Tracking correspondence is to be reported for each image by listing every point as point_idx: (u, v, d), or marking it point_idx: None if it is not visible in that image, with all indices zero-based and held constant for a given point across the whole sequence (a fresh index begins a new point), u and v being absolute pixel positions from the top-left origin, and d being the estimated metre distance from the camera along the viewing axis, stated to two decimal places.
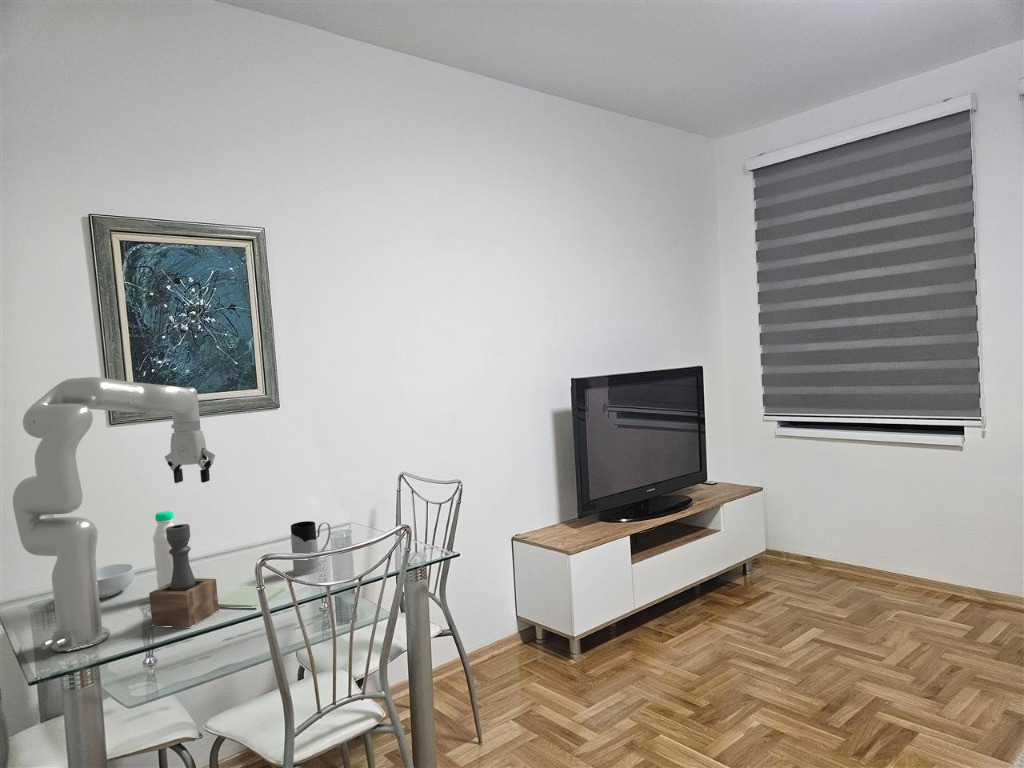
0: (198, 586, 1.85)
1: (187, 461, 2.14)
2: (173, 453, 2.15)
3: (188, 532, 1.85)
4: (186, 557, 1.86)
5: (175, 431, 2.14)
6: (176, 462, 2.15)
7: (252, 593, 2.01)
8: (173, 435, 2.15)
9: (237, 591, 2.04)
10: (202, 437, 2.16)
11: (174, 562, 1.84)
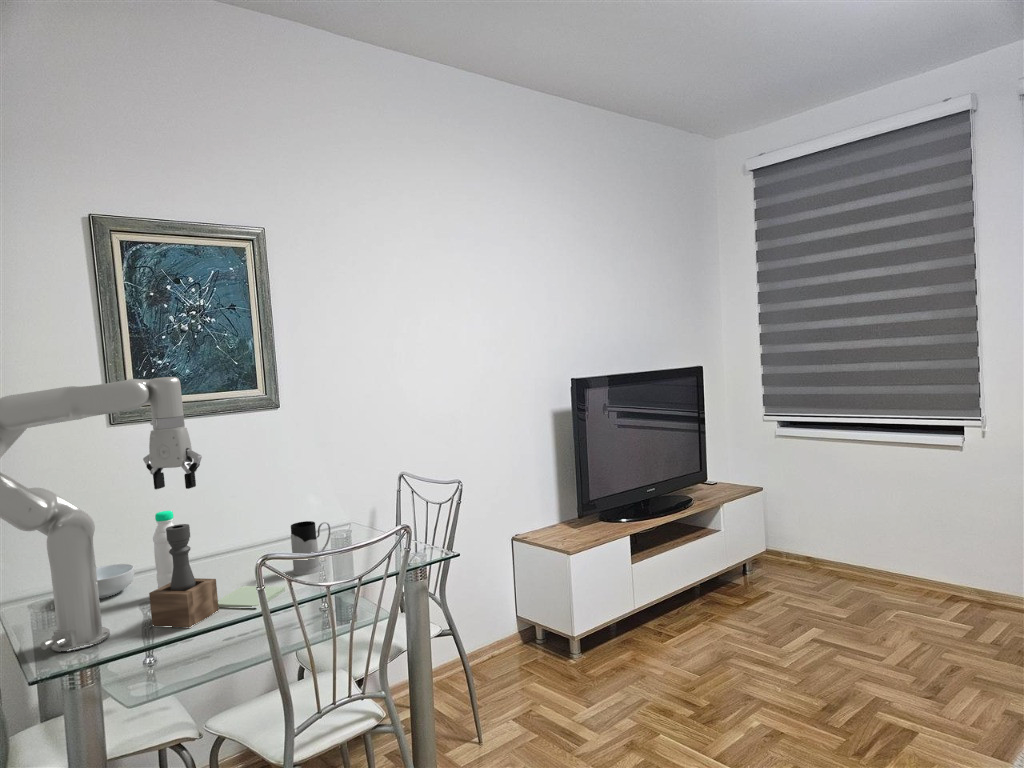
0: (198, 586, 1.85)
1: (169, 464, 1.82)
2: (152, 454, 1.83)
3: (188, 532, 1.85)
4: (186, 557, 1.86)
5: (154, 428, 1.81)
6: (156, 465, 1.83)
7: (252, 593, 2.01)
8: (152, 433, 1.82)
9: (237, 591, 2.04)
10: (186, 435, 1.84)
11: (174, 562, 1.84)
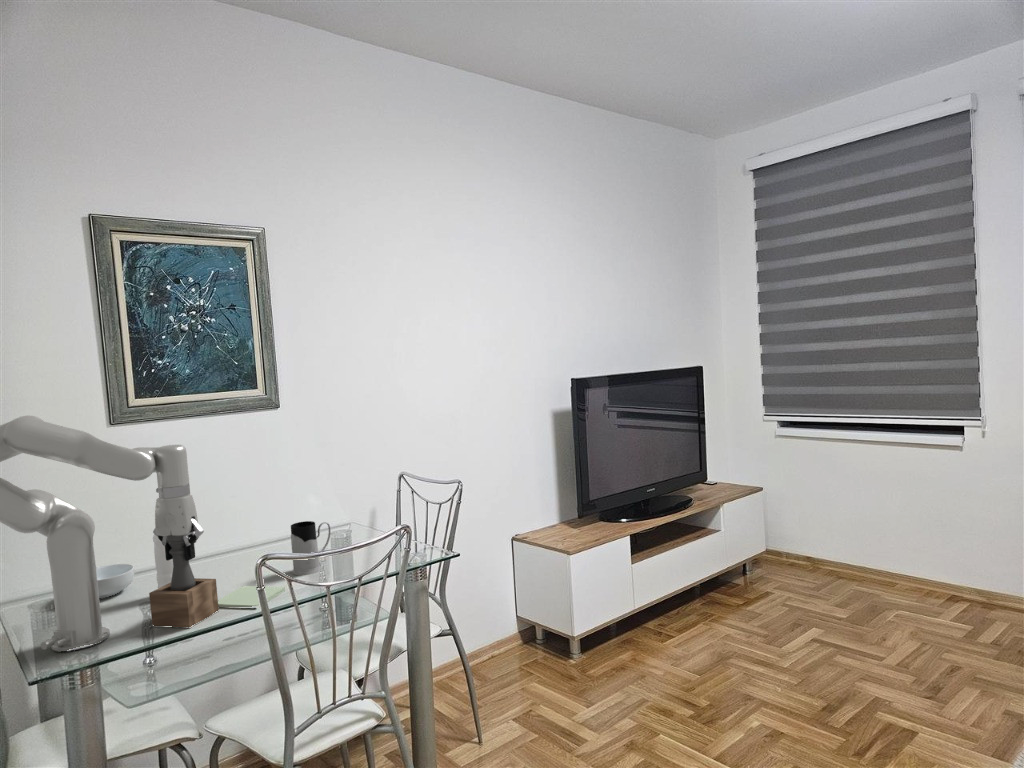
0: (198, 586, 1.85)
1: (174, 532, 1.83)
2: (158, 522, 1.84)
3: None
4: None
5: (160, 497, 1.82)
6: (161, 533, 1.84)
7: (252, 593, 2.01)
8: (158, 501, 1.83)
9: (237, 591, 2.04)
10: (192, 503, 1.85)
11: (174, 562, 1.84)
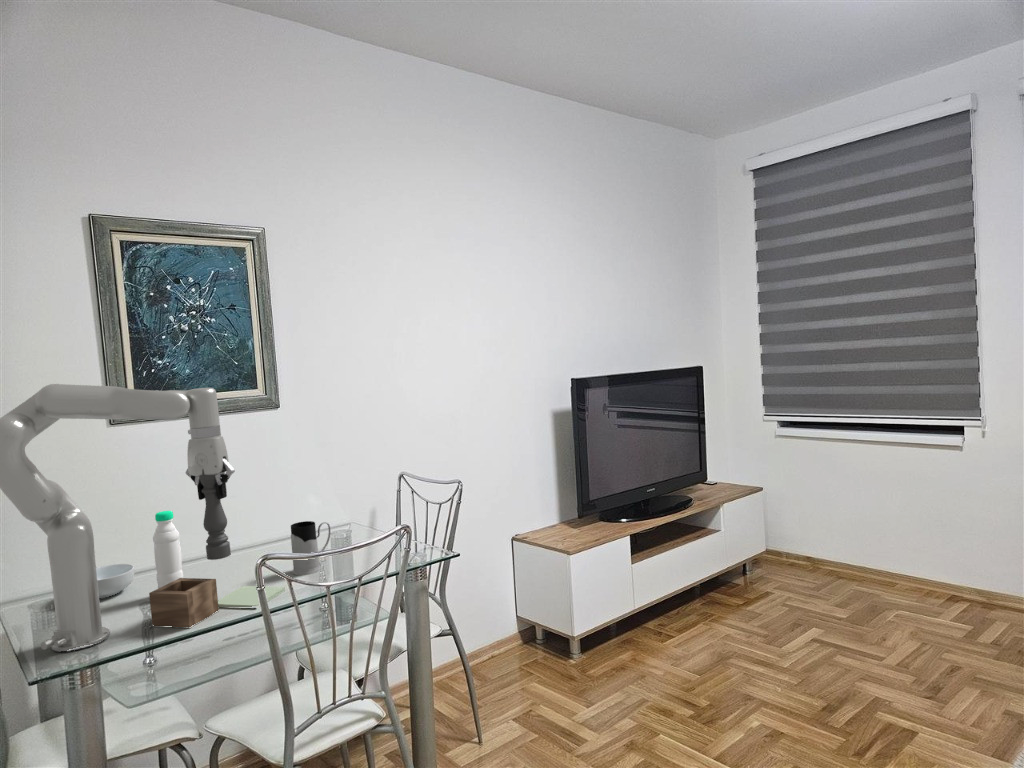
0: (198, 586, 1.85)
1: (207, 471, 1.88)
2: (190, 462, 1.90)
3: None
4: None
5: (192, 437, 1.88)
6: (194, 472, 1.89)
7: (252, 593, 2.01)
8: (190, 442, 1.89)
9: (237, 591, 2.04)
10: (223, 444, 1.90)
11: (206, 501, 1.90)
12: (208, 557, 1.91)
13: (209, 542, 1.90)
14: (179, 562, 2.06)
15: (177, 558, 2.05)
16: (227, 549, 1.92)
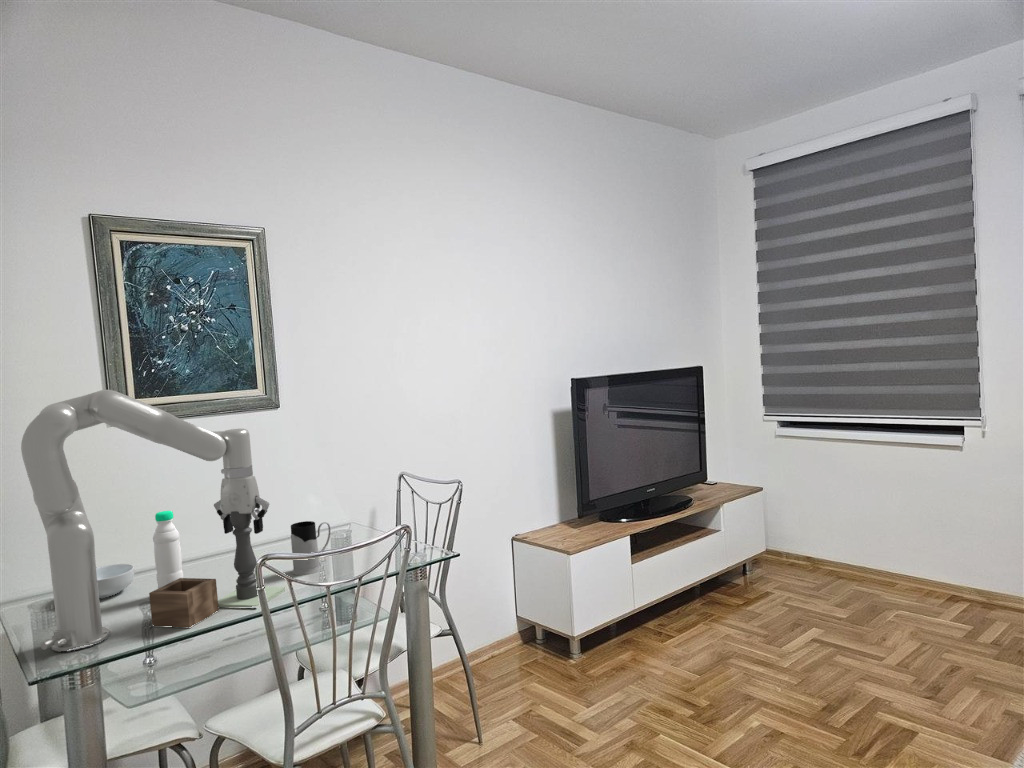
0: (198, 586, 1.85)
1: (239, 510, 1.95)
2: (223, 501, 1.96)
3: (250, 514, 1.98)
4: (248, 537, 1.98)
5: (226, 477, 1.94)
6: (226, 511, 1.96)
7: None
8: (223, 481, 1.96)
9: None
10: (255, 483, 1.97)
11: (237, 542, 1.96)
12: (238, 597, 1.97)
13: (239, 582, 1.96)
14: (179, 562, 2.06)
15: (177, 558, 2.05)
16: None
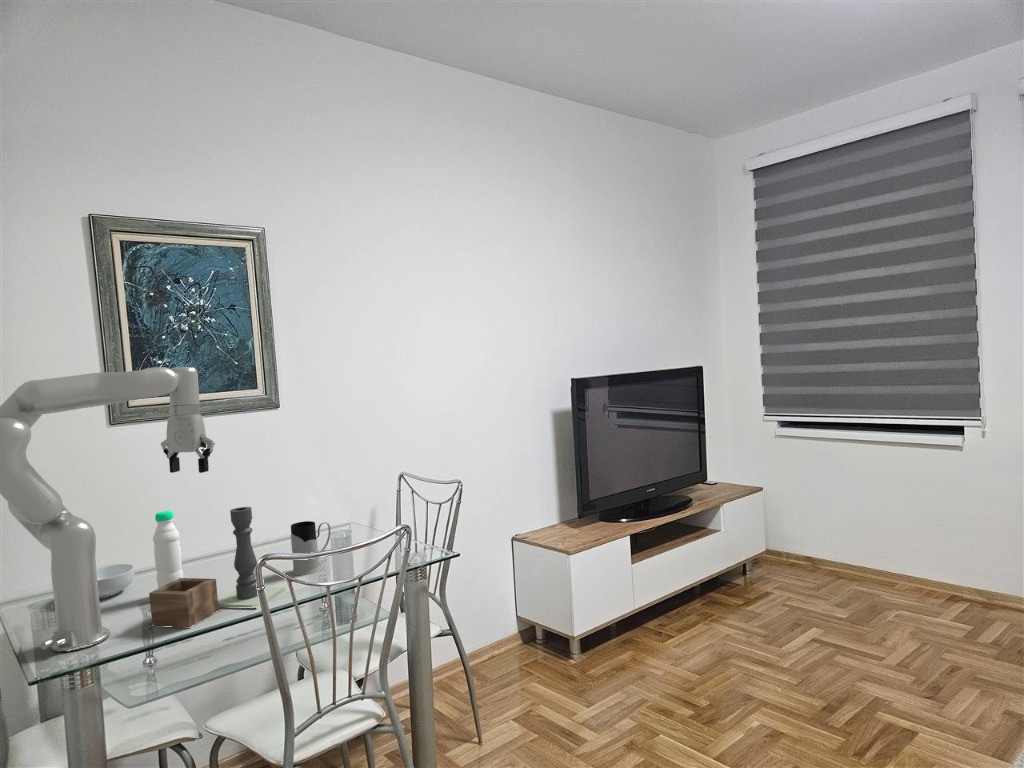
0: (198, 586, 1.85)
1: (184, 448, 1.92)
2: (169, 439, 1.94)
3: (250, 514, 1.98)
4: (249, 538, 1.98)
5: (172, 415, 1.92)
6: (172, 449, 1.94)
7: None
8: (169, 419, 1.94)
9: None
10: (201, 422, 1.95)
11: (238, 542, 1.97)
12: (238, 597, 1.97)
13: (239, 582, 1.96)
14: (179, 562, 2.06)
15: (177, 558, 2.05)
16: None
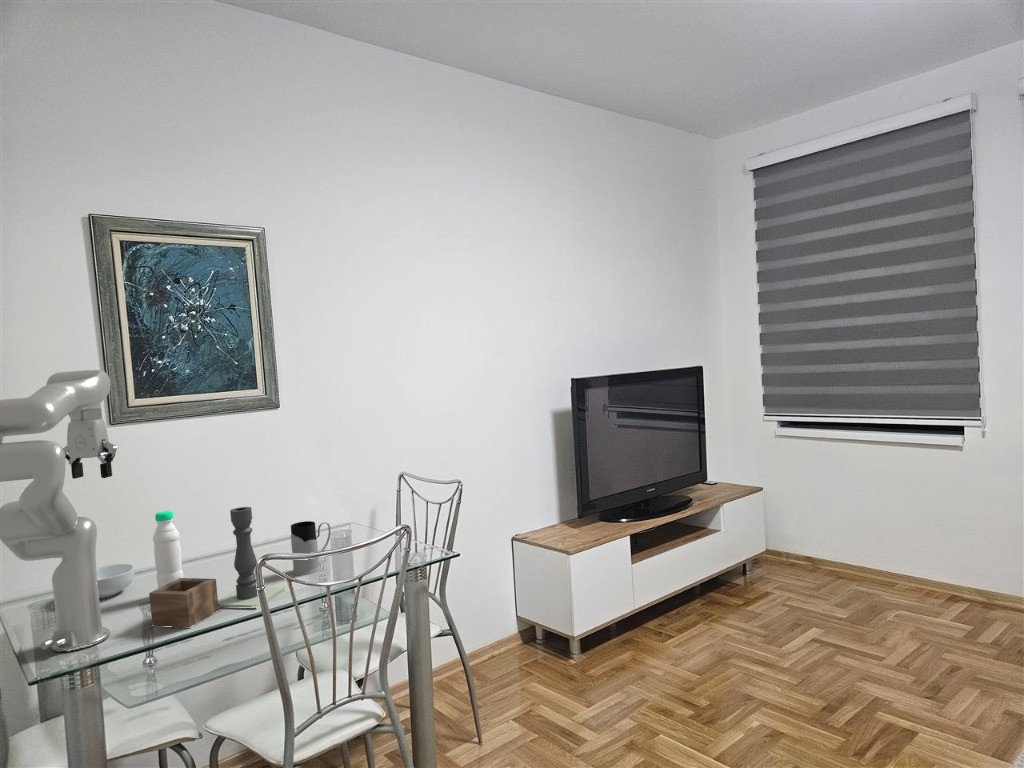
0: (198, 586, 1.85)
1: (85, 454, 1.90)
2: (70, 445, 1.91)
3: (250, 514, 1.98)
4: (249, 538, 1.98)
5: (71, 420, 1.90)
6: (73, 455, 1.91)
7: None
8: (70, 425, 1.91)
9: None
10: (103, 427, 1.92)
11: (238, 542, 1.97)
12: (238, 597, 1.97)
13: (239, 582, 1.96)
14: (179, 562, 2.06)
15: (177, 558, 2.05)
16: None
